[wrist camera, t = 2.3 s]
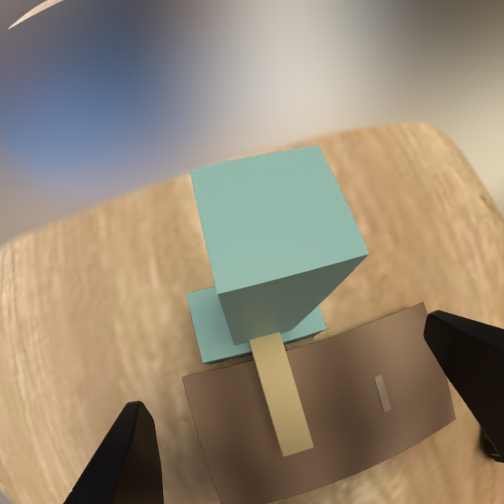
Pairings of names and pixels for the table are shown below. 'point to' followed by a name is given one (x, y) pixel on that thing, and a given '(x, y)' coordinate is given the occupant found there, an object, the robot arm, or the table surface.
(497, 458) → the tape measure
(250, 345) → the teal block tower
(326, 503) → the table surface
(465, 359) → the robot arm
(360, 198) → the table surface
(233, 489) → the board
